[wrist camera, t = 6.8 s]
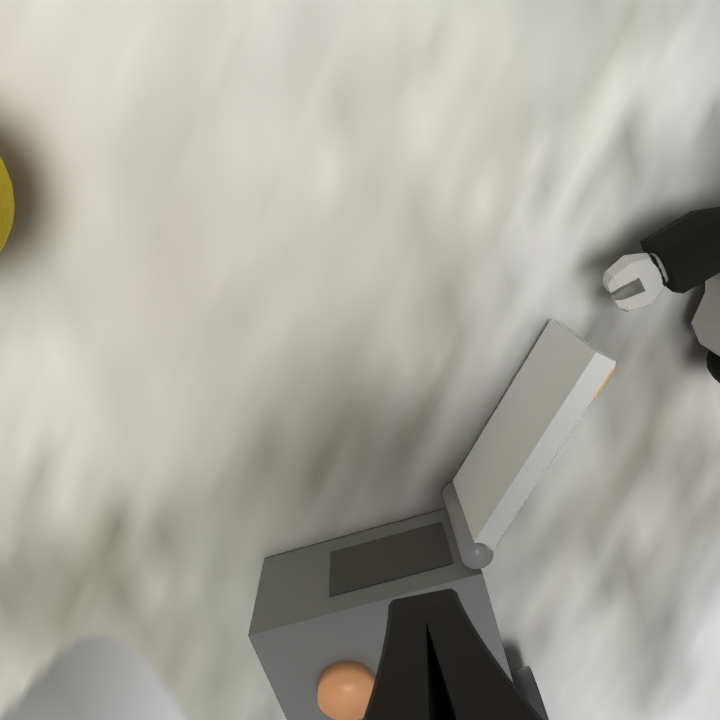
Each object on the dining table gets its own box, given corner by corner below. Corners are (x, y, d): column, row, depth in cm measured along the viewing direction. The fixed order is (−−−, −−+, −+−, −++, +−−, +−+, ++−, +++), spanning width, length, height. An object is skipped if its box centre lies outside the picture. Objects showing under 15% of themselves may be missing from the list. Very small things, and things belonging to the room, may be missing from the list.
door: (437, 498, 22) (455, 562, 18) (546, 317, 20) (591, 349, 16) (470, 512, 22) (494, 578, 19) (582, 335, 20) (634, 370, 16)
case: (541, 720, 26) (581, 831, 22) (352, 766, 27) (354, 883, 22) (481, 497, 22) (514, 577, 18) (264, 557, 23) (244, 648, 18)
